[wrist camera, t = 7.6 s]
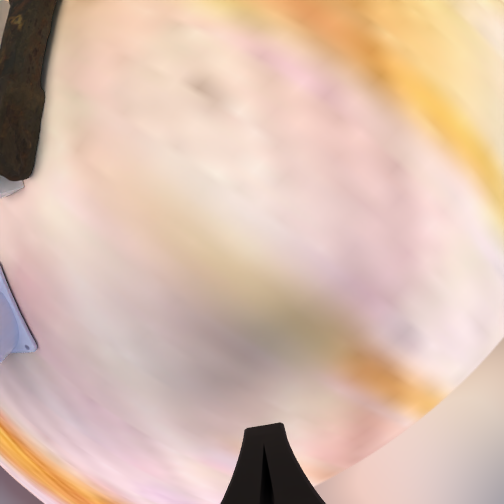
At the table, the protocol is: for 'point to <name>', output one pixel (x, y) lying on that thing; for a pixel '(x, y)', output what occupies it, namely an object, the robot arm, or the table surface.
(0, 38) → the stop rail
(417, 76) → the table surface
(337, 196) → the table surface
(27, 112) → the hand tool
